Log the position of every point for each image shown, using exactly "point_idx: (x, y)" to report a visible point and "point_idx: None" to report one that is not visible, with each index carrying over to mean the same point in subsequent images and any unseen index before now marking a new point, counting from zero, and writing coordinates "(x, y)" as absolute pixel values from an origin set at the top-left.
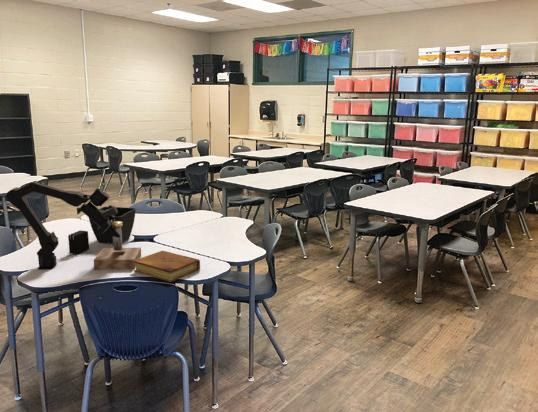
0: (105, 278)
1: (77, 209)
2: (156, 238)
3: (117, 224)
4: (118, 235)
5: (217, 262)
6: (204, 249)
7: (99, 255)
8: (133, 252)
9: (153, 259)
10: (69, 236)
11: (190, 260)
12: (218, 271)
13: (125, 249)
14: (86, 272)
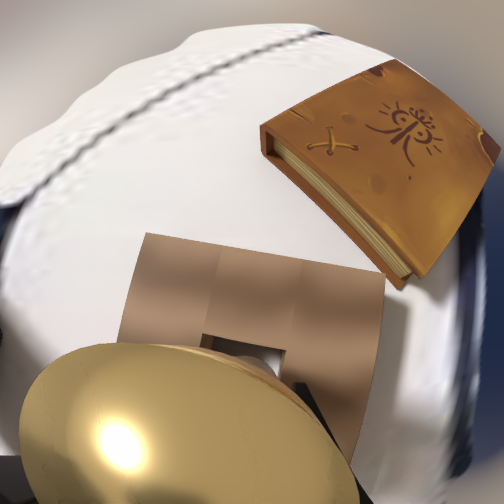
0: (449, 405)
1: None
2: (8, 196)
3: (350, 494)
4: (314, 406)
5: (319, 45)
6: (183, 58)
7: None
8: (237, 279)
9: (411, 174)
10: None
11: (407, 75)
12: None
13: (154, 329)
14: None
